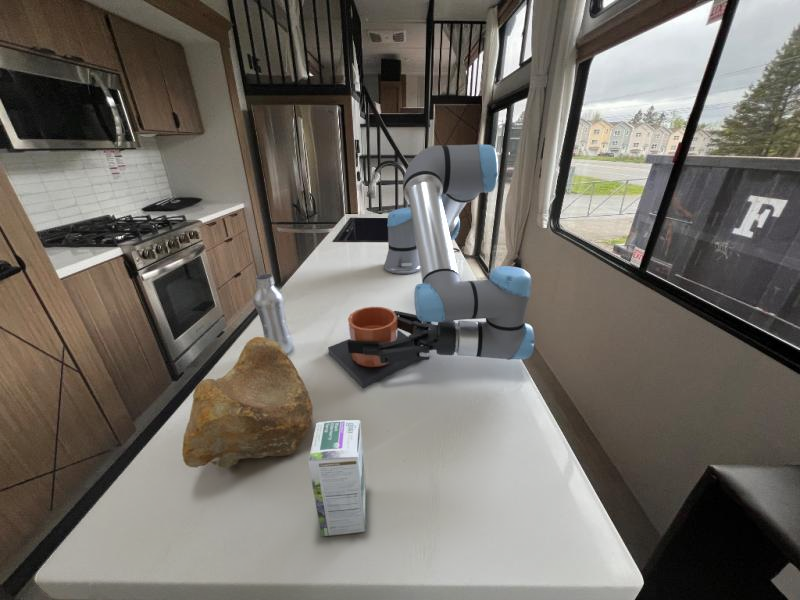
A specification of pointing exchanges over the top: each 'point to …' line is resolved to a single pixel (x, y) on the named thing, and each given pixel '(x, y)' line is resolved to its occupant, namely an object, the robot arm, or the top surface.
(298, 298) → the top surface
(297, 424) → the rough brown rock
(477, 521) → the top surface
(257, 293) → the silver water bottle
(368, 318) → the terracotta pot
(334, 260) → the top surface
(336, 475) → the syrup box
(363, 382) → the scale
